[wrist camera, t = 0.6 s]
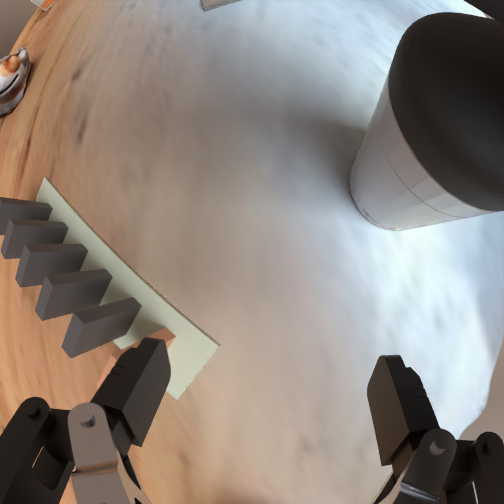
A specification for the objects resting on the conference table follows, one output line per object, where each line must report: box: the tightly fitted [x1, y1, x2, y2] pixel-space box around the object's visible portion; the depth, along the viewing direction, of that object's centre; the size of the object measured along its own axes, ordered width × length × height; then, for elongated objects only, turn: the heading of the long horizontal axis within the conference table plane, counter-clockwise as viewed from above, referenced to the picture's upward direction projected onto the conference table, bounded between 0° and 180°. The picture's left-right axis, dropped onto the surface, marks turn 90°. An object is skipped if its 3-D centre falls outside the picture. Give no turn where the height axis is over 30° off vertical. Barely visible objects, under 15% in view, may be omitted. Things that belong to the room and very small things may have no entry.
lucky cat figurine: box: [0, 47, 32, 118], centre depth 34 cm, size 17×14×16 cm
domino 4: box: [35, 269, 113, 321], centre depth 28 cm, size 2×5×10 cm, turn 144°
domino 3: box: [15, 244, 88, 287], centre depth 29 cm, size 2×5×10 cm, turn 144°
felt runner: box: [34, 177, 220, 399], centre depth 34 cm, size 38×10×1 cm, turn 54°
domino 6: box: [96, 328, 176, 389], centre depth 26 cm, size 2×5×10 cm, turn 144°
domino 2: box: [1, 218, 69, 259], centre depth 30 cm, size 2×5×10 cm, turn 144°
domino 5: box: [62, 297, 142, 358], centre depth 27 cm, size 2×5×10 cm, turn 144°
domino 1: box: [0, 197, 53, 235], centre depth 31 cm, size 2×5×10 cm, turn 144°
